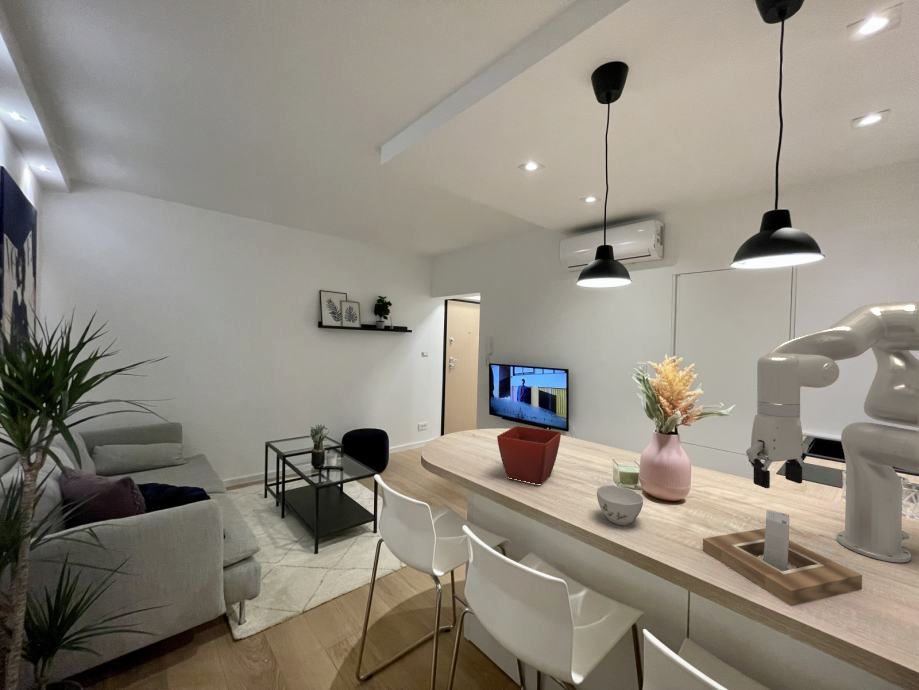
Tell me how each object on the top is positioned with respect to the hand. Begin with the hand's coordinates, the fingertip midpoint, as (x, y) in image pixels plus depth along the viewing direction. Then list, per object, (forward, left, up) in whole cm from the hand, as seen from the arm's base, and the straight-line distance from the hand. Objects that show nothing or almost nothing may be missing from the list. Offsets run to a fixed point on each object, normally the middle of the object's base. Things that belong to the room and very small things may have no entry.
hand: (777, 483), depth 86 cm
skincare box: (0, 0, -20) cm, 20 cm away
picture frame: (0, 0, -20) cm, 20 cm away
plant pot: (+31, -66, -20) cm, 76 cm away
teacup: (+19, -29, -20) cm, 40 cm away
